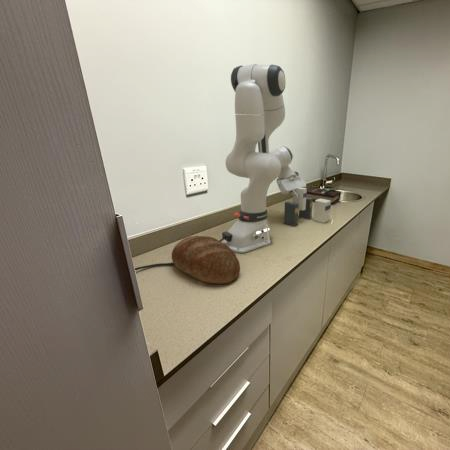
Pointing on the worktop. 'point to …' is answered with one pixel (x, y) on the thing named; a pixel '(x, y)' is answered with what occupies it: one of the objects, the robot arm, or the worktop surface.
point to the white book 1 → (300, 198)
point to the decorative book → (323, 194)
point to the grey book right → (307, 209)
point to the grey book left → (291, 213)
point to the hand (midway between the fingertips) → (300, 197)
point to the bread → (206, 259)
